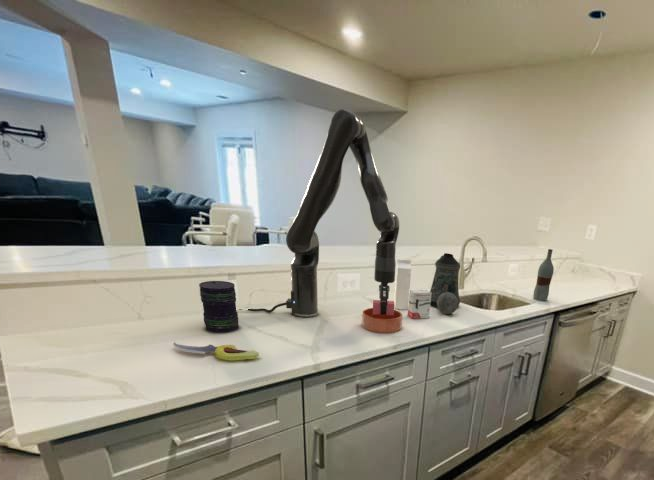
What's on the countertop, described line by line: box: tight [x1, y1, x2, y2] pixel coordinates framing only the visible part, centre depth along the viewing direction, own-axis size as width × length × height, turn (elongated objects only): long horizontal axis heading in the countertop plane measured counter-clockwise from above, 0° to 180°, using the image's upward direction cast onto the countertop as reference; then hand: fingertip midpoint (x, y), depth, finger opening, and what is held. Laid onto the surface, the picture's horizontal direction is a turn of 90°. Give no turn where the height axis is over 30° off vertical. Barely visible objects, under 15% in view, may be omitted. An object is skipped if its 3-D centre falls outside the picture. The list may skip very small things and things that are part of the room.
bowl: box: [361, 307, 403, 334], centre depth 150 cm, size 15×15×6 cm
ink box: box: [407, 288, 432, 320], centre depth 167 cm, size 8×5×12 cm, turn 123°
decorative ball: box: [437, 292, 459, 315], centre depth 178 cm, size 10×10×10 cm
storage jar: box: [198, 280, 240, 334], centre depth 126 cm, size 10×10×15 cm
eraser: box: [372, 299, 395, 315], centre depth 148 cm, size 8×4×4 cm, turn 102°
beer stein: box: [429, 252, 461, 309], centre depth 189 cm, size 16×19×25 cm
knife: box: [172, 342, 260, 361], centre depth 110 cm, size 8×3×25 cm
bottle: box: [532, 248, 555, 302], centre depth 229 cm, size 9×9×30 cm
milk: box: [393, 259, 412, 310], centre depth 175 cm, size 6×6×22 cm
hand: (383, 312), depth 149 cm, fingers closed on eraser, 4 cm apart
